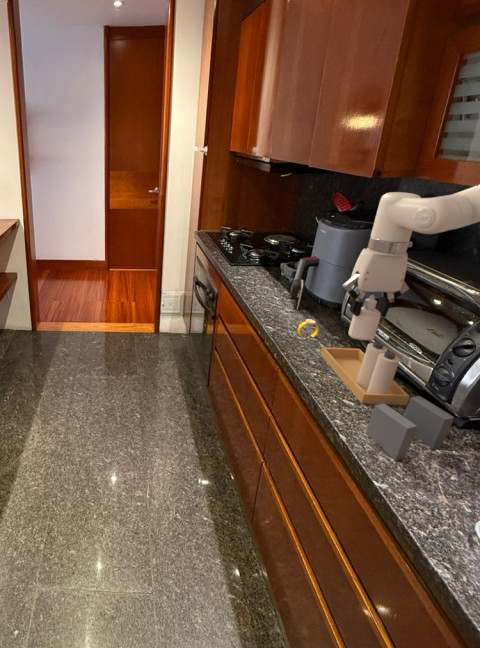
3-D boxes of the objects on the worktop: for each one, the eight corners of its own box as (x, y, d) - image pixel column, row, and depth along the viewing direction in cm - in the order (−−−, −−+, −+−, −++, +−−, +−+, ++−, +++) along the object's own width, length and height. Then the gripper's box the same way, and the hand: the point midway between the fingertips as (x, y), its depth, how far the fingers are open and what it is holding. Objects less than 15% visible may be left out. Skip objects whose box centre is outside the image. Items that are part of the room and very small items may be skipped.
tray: (320, 356, 112) (322, 347, 110) (356, 358, 111) (359, 348, 110) (360, 405, 92) (364, 394, 91) (405, 407, 91) (409, 396, 90)
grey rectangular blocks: (408, 425, 86) (419, 395, 83) (441, 448, 80) (454, 417, 76) (364, 435, 83) (374, 405, 80) (395, 460, 77) (407, 428, 74)
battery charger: (287, 305, 144) (292, 276, 140) (298, 307, 142) (304, 278, 138) (287, 313, 138) (293, 283, 134) (298, 315, 137) (305, 285, 132)
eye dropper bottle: (371, 344, 98) (384, 301, 93) (346, 336, 101) (357, 294, 97) (374, 337, 101) (387, 295, 96) (350, 330, 104) (361, 289, 100)
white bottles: (353, 379, 100) (365, 339, 96) (369, 380, 100) (382, 339, 96) (372, 400, 93) (386, 357, 88) (390, 401, 92) (405, 358, 88)
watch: (298, 339, 121) (302, 322, 118) (294, 335, 123) (298, 318, 121) (318, 340, 120) (322, 323, 118) (314, 335, 123) (318, 318, 121)
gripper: (414, 242, 95) (393, 308, 101) (341, 241, 96) (325, 307, 103) (437, 251, 88) (412, 322, 95) (358, 249, 89) (339, 319, 96)
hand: (367, 313), depth 99 cm, fingers closed on eye dropper bottle, 5 cm apart
